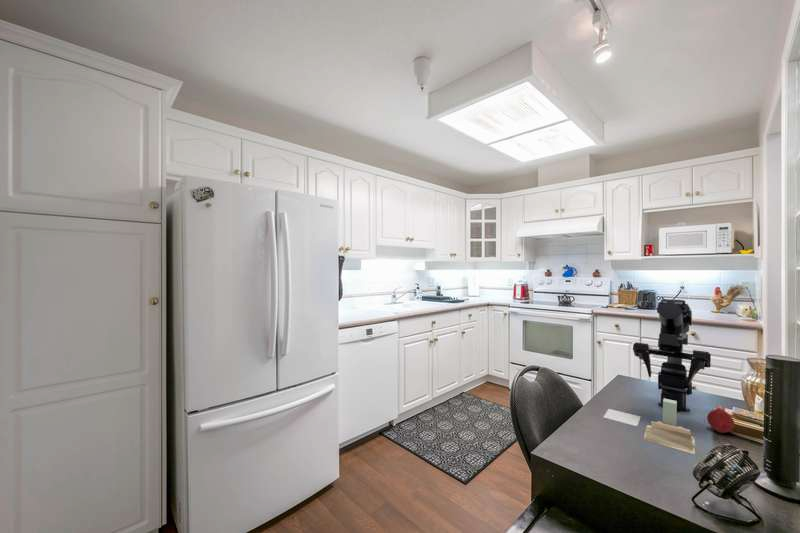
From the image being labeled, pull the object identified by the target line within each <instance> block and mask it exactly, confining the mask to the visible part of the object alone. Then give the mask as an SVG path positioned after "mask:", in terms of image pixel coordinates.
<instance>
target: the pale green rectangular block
mask: <svg viewBox="0 0 800 533" xmlns="http://www.w3.org/2000/svg"><path fill="white" fill-rule="evenodd" d="M677 414H678V412H677V401H674V400H669V399H665V398H664V399H663V406H662V424H666V425H671V426H675V427H678V426H677V421H678V420H677V419H678V418H677V417H678V416H677Z"/></svg>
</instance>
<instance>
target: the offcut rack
mask: <svg viewBox="0 0 800 533" xmlns="http://www.w3.org/2000/svg"><path fill="white" fill-rule="evenodd" d="M695 439H696V438H695V436H692V433H691V429H689V428H688V429H687V428H684V427H683V426H677V427H675V426H671V425H666V424H663V421H660V420H659V421H651V424H650V425H649V424H647V425H646V427H645V431H644V435H643V438H642V440H644V441H648V442H651V443H655V444H658V445H661V446H664V447H668V448H672V449H675V450H679V451H682V452H685V453H689V454H692V455H695V454H696V443H695V442H696V440H695Z"/></svg>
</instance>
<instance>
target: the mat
mask: <svg viewBox="0 0 800 533" xmlns="http://www.w3.org/2000/svg"><path fill="white" fill-rule="evenodd" d="M603 419H608V420H611V421H614V422H619V423H623V424H627V425H630V426H634V427H639V426H638V425H639V423H640V419H641V416H639V415H635V414H632V413H628V412H627V413H626V412H623V411H619V410H615V409H612V408H608V409H607V410H606V412H605V414H604V415H603Z"/></svg>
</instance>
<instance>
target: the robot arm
mask: <svg viewBox="0 0 800 533" xmlns="http://www.w3.org/2000/svg"><path fill="white" fill-rule="evenodd" d="M656 313H657V314H658V318H659V322H660V330H659V332H660V333H658V339H657V347H658V348H653V347H652V348H651V347H650V346H649V343H645V342H635V343H633V346H632V350H633V354H634V356H635V357H637V358H638V359H639V360H641V361H642V360H643V363H644V366H645V368H646V372H647V375H648V377H649V378H651V376H652V368H651V367H652V366H651V357H650V355H654V356H660V357H666V358H667V360H666V361H663V362H662V363H661V366H660V371H658V372H657V389H658V390H661V393H660V402H657V405H659V407H660V406H661V407H663V399H664V398H665V399H669V400H674V401H677V413H678V412H690V411H691V409H689V408H687V396H690V395H693V382H692V380H693V379H694V377H695V376H696V374H698V373H699V371H700V370H705V369H706V368H711V364H712V363H711V360H712V357H711V356H712V355H711V353H710V352H709V351H704V350H697V349H693V350H692V353H689V352H683V350H684V346H688V344H689V334H688V332H690V326H692V325H693V324H692V323H693V314H692V313H693V312H692V309H691V307H690V306H689V304H688V303H686V300H685V299H669V298H662V299H661V300H660V301H658V304H657V307H656ZM683 360H686V361H687V360H688V361H690V365H689V371H687V368H686V366H685V365H684V364H683ZM687 372H688V373H687Z"/></svg>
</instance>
